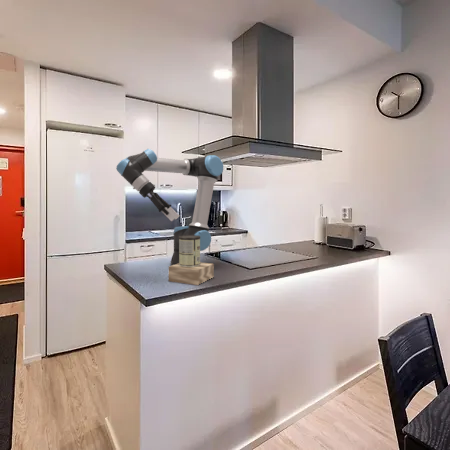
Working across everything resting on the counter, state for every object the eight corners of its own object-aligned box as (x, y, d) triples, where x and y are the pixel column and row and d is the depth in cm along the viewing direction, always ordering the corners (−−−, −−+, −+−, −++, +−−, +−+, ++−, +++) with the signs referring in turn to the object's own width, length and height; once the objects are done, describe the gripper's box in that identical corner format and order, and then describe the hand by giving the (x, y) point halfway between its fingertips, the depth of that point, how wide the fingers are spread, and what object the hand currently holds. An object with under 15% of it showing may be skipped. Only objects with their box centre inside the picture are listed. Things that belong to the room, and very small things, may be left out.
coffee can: (180, 262, 154) (180, 235, 153) (200, 263, 155) (200, 235, 153) (177, 267, 144) (177, 237, 143) (199, 267, 144) (199, 237, 143)
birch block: (186, 274, 160) (186, 260, 160) (213, 277, 154) (213, 263, 153) (168, 281, 146) (168, 266, 145) (198, 285, 139) (198, 270, 139)
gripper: (144, 193, 159) (174, 222, 160) (131, 191, 134) (165, 226, 135) (155, 182, 158) (184, 212, 160) (143, 179, 134) (177, 214, 135)
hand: (175, 218), depth 148 cm, fingers open, 13 cm apart
